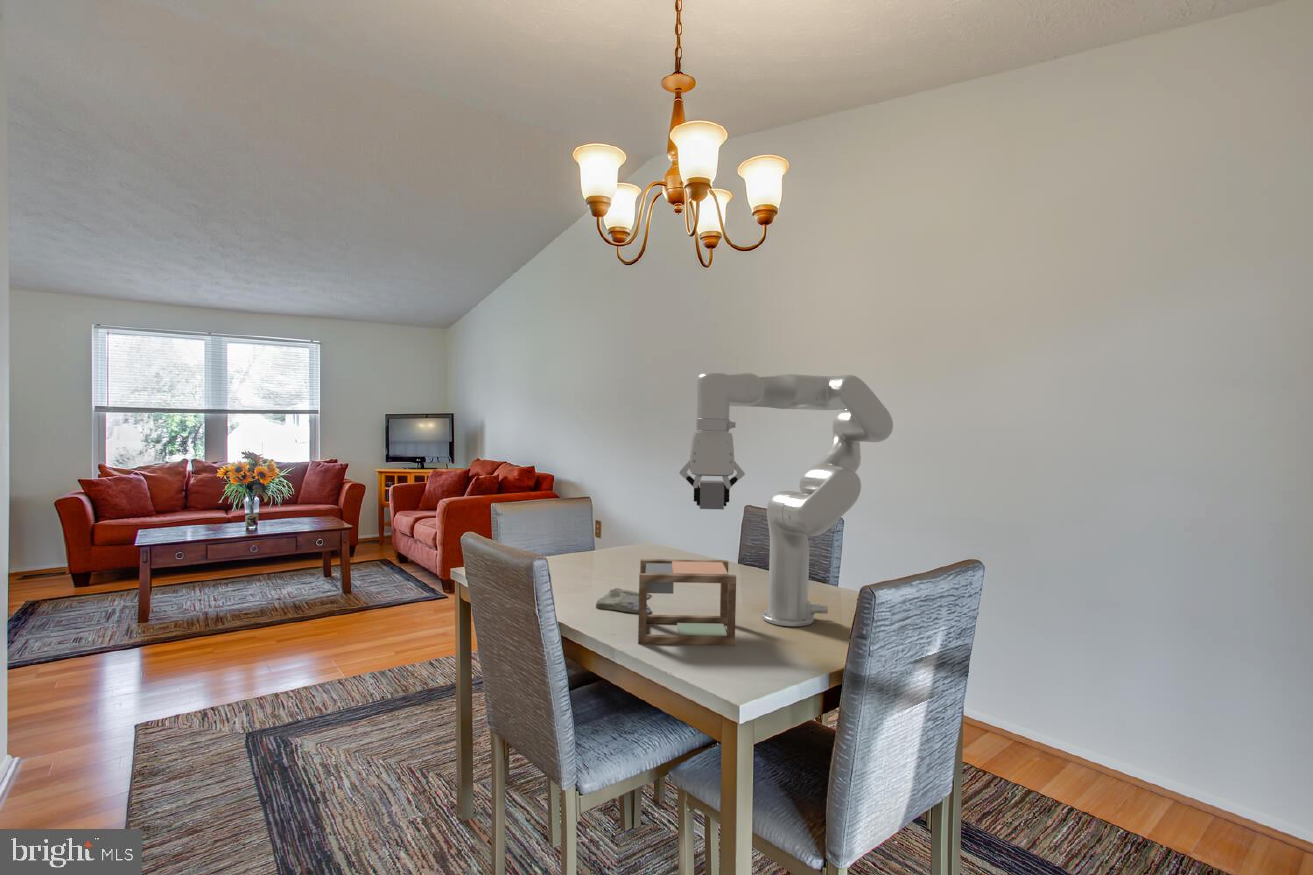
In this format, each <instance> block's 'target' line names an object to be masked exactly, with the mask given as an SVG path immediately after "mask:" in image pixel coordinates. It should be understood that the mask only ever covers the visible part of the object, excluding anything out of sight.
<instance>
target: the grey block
mask: <svg viewBox="0 0 1313 875" xmlns="http://www.w3.org/2000/svg"><path fill="white" fill-rule="evenodd" d="M724 485H725V484H724V481H723V480H702V479H701V480H700V482H699V488H700V505H699V506H698V507H699V509H700V510H725V506H724Z"/></svg>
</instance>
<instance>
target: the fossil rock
mask: <svg viewBox="0 0 1313 875" xmlns="http://www.w3.org/2000/svg"><path fill="white" fill-rule="evenodd" d="M649 597H650V598H652V597H653V595H652V594H651V593H647V600H648V599H650V598H649ZM595 603H596V604H595V607H596V609H602V610H609V611H610V610H612V611H613V610H614V611H619V612H623V613H631V614H639V591H633V590H629V589H621V588H619V587H615V588H614V589H609V591H608V592H607V593H606V594H605V595H603V596H602V597H601V598H599V599H597V600H596V602H595ZM651 612H652V610H651V607H650V606H649V605H648V603H647V602H646V615H650V613H651Z"/></svg>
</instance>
